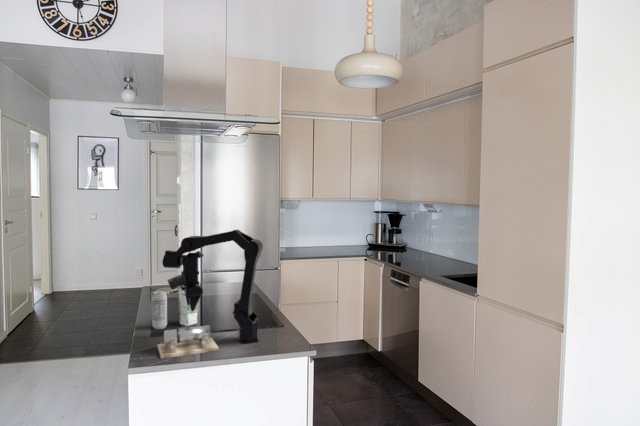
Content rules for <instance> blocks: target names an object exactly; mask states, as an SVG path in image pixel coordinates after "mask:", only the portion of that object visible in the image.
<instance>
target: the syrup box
mask: <svg viewBox="0 0 640 426" xmlns="http://www.w3.org/2000/svg"><path fill="white" fill-rule="evenodd" d="M178 308H179V315H178V316H179V318H178V319H179V325H182V326H185V327H189V326H194V325H197V324H199V302H198V303H197V305H196V308H195V310H194V311H191V307H190V305H187V301H186V296H185V292H184V291H183V290H181V291H179V307H178Z"/></svg>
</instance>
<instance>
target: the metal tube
mask: <svg viewBox="0 0 640 426" xmlns="http://www.w3.org/2000/svg"><path fill="white" fill-rule="evenodd" d="M206 333H208V339H210V338H212V337H211V334H212V331H211V325H209V324H208V325H199V326H192V327H183V328H175V329H166V330H164V331H163V339H164V340H163V341H164V343H163V344H165V345H167V344H170V338H174V337H176V338H177V343H182V342H190V341H198V340H202V334H206Z"/></svg>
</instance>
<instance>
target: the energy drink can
mask: <svg viewBox="0 0 640 426" xmlns="http://www.w3.org/2000/svg"><path fill="white" fill-rule="evenodd" d="M167 325H168V295H167V293H166V291H164V290H158V291H153V293H152V296H151V327H153V328H152V329H154V330H162V329H163V330H164V329H165V328H167Z"/></svg>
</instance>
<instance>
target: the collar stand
mask: <svg viewBox="0 0 640 426" xmlns="http://www.w3.org/2000/svg"><path fill="white" fill-rule="evenodd" d="M157 350H158V352H159V357H160V359H169V358H174V357H175V358H176V357H181V356H182V357H183V356H187V355H189V356H190V355H195V354H203V353H210V352H209V351H211V352H216V350H218V351H219V346H218V345H217V343H216V342H215V340H214V339H213V337H210V339H208V333H206V334H202V340H198V341H190V342H182V343H177V338H176V337H174V338H170V344H167V345H165V343H160V344H157Z"/></svg>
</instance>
